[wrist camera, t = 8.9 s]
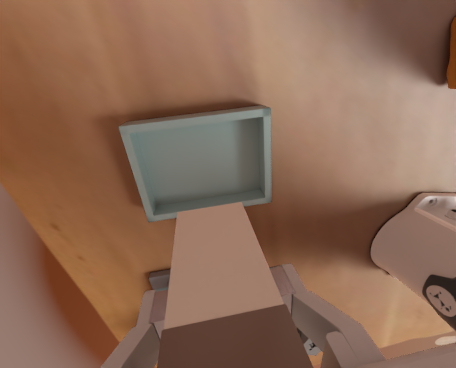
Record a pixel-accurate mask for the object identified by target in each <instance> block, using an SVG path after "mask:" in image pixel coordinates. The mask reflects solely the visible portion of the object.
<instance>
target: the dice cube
mask: <svg viewBox="0 0 456 368" xmlns="http://www.w3.org/2000/svg"><path fill="white" fill-rule="evenodd" d="M297 331H298V333H299V335H300V338H301V340H302V342H303V345H304V347H305V350H306V352H307V354H308V355H315V356H316V355H317V354H318V353H319V352H320V351H321V350H320V349H319V348H318V347H317V346H316V345H315V344H314V343H313V342H312V341H311V340H310V339H309V338H308V337H307V336H306V335H305V334H304V333H303V332H302V331H300V330H299V329H298V328H297Z"/></svg>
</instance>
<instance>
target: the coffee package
mask: <svg viewBox="0 0 456 368" xmlns="http://www.w3.org/2000/svg"><path fill="white" fill-rule="evenodd" d="M447 79H448V88H450V89H456V16H455V18H454V19H453V21H452V24H451V39H450V59H449V65H448V68H447Z"/></svg>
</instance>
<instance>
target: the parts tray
mask: <svg viewBox="0 0 456 368" xmlns="http://www.w3.org/2000/svg"><path fill="white" fill-rule="evenodd" d="M118 128H119V131H120V134H121V137H122V140H123V143H124V146H125V150H126V153H127V156H128V159H129V162H130V165H131V168H132V172H133V175H134V178H135V181H136V184H137V187H138V191H139V194H140V197H141V200H142V203H143V206H144V209H145V213H146V216H147V219H148V222H154V221H160V220H166V219H172V218H177V212H182V211H188V210H194V209H201V208H207V207H213V206H219V205H225V204H231V203H237V202H242V204H243V206H244V207H245V206H251V205H257V204H263V203H269V202H272V191H271V108H269V107H266V106H263V105H260V106H252V107H243V108H235V109H227V110H219V111H211V112H203V113H194V114H186V115H178V116H170V117H162V118H154V119H145V120H137V121H129V122H125V123H124V124H122V125H120V126H119V127H118Z"/></svg>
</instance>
